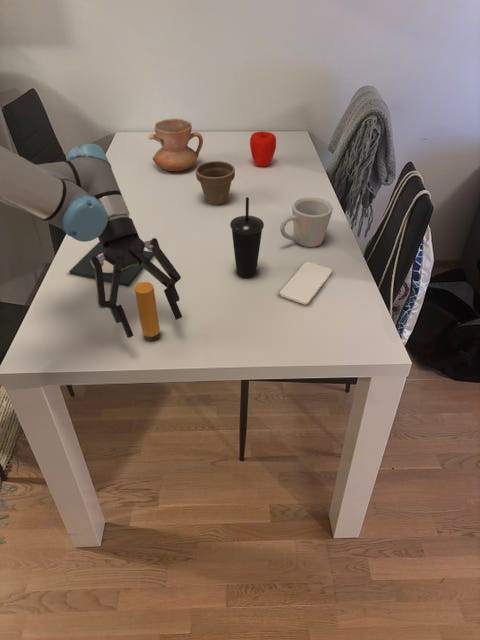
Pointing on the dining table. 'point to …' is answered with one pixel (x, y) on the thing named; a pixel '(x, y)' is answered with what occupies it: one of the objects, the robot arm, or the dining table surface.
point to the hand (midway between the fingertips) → (155, 327)
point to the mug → (308, 221)
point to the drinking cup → (246, 242)
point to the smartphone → (305, 283)
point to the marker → (147, 310)
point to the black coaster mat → (106, 267)
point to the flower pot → (215, 180)
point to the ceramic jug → (175, 144)
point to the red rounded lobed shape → (262, 147)
